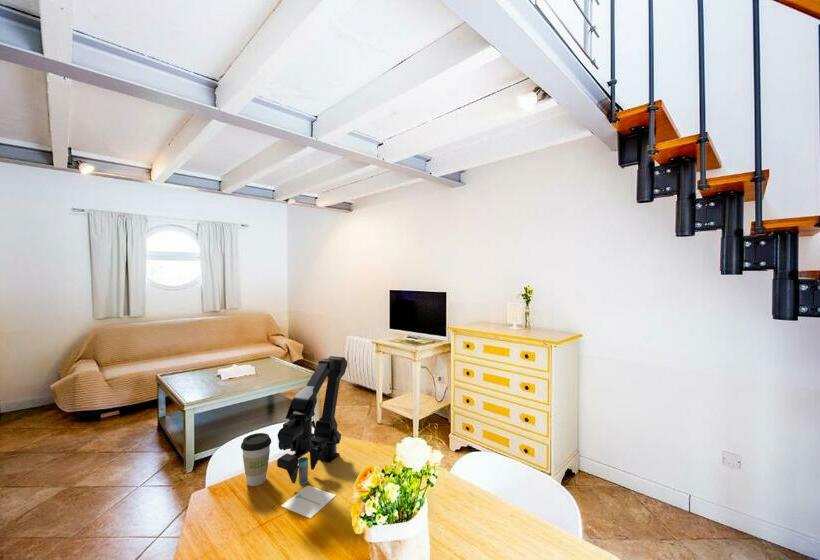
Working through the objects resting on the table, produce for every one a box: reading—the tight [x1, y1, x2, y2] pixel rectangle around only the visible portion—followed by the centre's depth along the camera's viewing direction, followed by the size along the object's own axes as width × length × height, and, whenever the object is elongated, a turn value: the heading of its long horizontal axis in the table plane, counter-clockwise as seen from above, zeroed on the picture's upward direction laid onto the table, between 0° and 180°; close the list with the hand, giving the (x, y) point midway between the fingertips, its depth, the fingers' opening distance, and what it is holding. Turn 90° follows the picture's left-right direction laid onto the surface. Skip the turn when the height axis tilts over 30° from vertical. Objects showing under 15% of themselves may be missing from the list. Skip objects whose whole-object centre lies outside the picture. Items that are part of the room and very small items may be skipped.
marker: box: [298, 456, 309, 485], centre depth 124 cm, size 3×3×8 cm
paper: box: [280, 485, 337, 519], centre depth 114 cm, size 12×12×1 cm
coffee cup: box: [240, 432, 272, 487], centre depth 125 cm, size 10×10×15 cm
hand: (303, 476), depth 124 cm, fingers open, 9 cm apart
